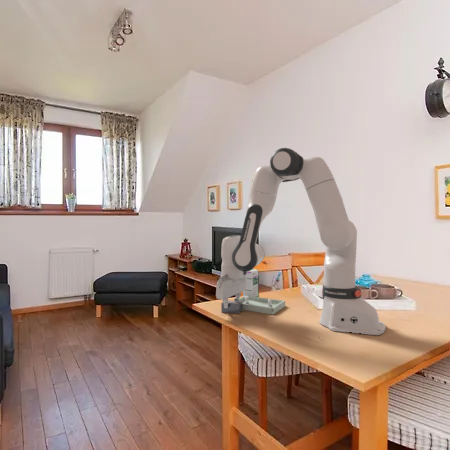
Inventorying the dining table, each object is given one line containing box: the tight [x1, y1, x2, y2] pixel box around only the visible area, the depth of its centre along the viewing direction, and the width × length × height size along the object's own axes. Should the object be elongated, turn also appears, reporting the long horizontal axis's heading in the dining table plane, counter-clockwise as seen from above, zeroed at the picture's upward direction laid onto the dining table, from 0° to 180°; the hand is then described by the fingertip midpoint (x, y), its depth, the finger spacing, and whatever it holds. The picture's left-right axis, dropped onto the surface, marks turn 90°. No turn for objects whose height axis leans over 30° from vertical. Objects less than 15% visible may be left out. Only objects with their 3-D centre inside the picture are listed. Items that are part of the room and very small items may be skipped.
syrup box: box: [242, 268, 260, 297], centre depth 159 cm, size 6×6×14 cm
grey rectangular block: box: [220, 299, 244, 315], centre depth 140 cm, size 8×5×4 cm, turn 71°
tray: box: [239, 296, 286, 315], centre depth 145 cm, size 20×14×4 cm
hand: (231, 305), depth 140 cm, fingers open, 7 cm apart
